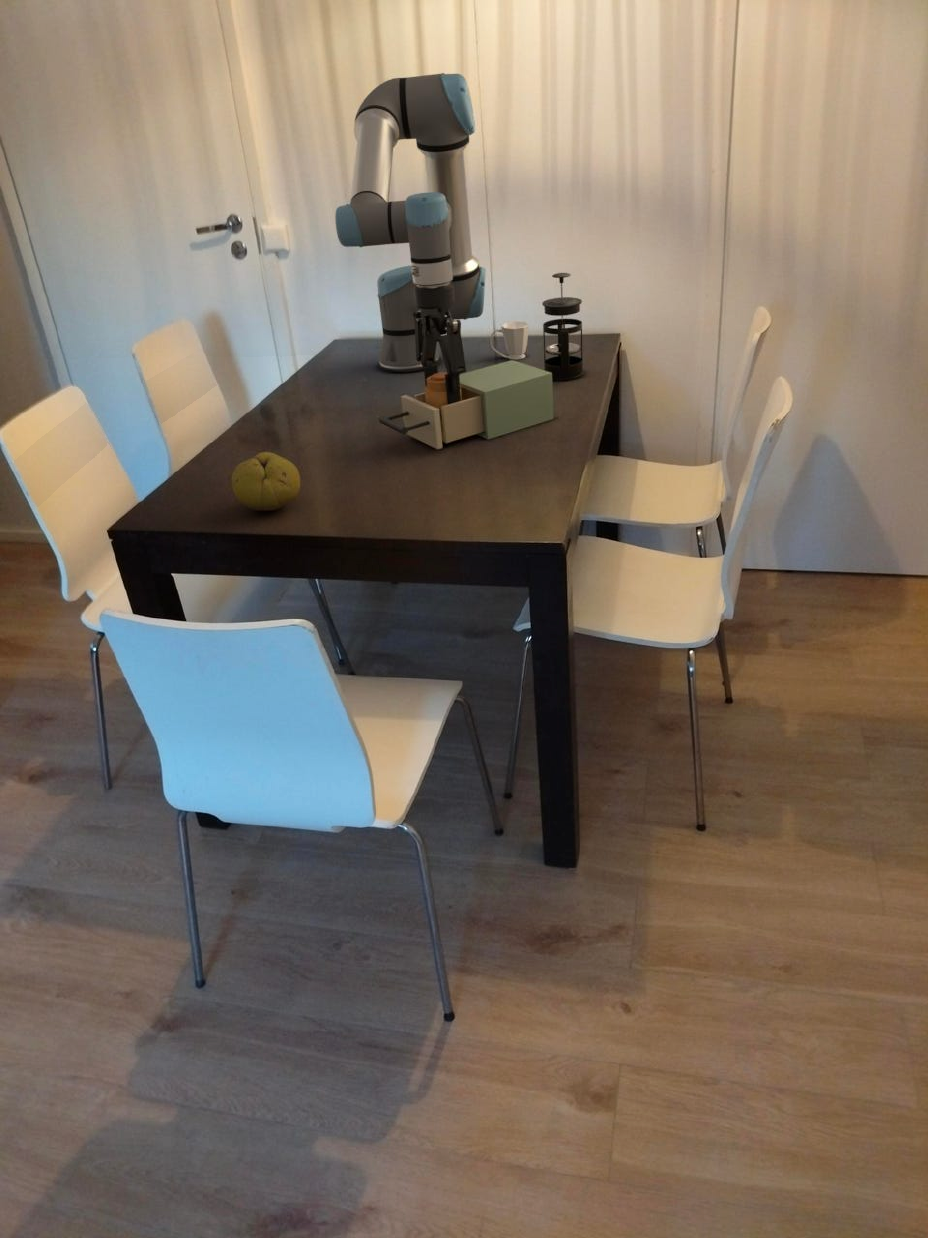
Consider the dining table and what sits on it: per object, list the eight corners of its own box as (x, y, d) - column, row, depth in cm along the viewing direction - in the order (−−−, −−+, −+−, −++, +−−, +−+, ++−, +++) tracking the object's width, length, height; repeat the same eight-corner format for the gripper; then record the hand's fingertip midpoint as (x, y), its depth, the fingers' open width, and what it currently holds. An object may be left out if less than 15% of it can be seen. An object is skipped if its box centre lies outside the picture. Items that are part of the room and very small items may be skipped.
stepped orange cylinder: (422, 401, 189) (420, 372, 186) (457, 395, 191) (454, 367, 188) (430, 411, 183) (427, 382, 180) (465, 406, 185) (463, 377, 182)
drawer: (409, 458, 180) (404, 418, 176) (377, 441, 189) (372, 403, 185) (502, 429, 190) (499, 391, 186) (467, 414, 199) (464, 378, 195)
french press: (542, 369, 226) (539, 270, 214) (581, 366, 225) (580, 267, 213) (545, 384, 216) (542, 281, 204) (586, 381, 215) (585, 277, 203)
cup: (529, 360, 233) (527, 327, 229) (489, 361, 235) (487, 329, 231) (531, 352, 239) (530, 320, 235) (493, 354, 241) (491, 322, 237)
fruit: (247, 497, 172) (236, 446, 167) (310, 494, 171) (300, 442, 166) (232, 524, 162) (220, 470, 157) (299, 520, 162) (288, 466, 156)
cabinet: (488, 439, 188) (484, 392, 183) (450, 423, 198) (446, 377, 193) (553, 418, 195) (552, 372, 190) (514, 404, 206) (512, 359, 200)
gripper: (389, 280, 181) (402, 395, 193) (445, 295, 166) (455, 419, 178) (422, 273, 184) (433, 387, 196) (479, 287, 169) (487, 409, 181)
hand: (443, 402), depth 187 cm, fingers closed on stepped orange cylinder, 7 cm apart
